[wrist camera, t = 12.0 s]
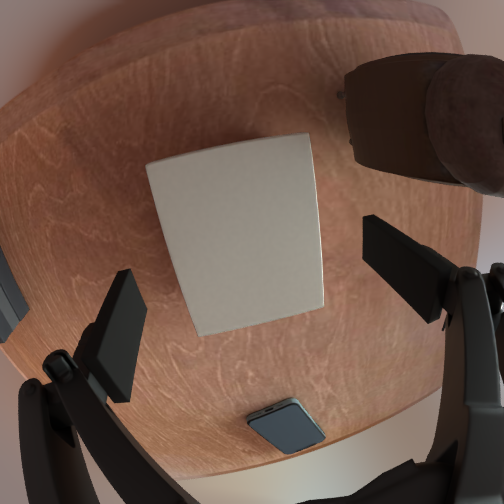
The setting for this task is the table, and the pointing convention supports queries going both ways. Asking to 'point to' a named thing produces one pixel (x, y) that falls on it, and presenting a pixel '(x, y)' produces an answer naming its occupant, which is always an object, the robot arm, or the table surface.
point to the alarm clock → (430, 118)
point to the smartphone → (286, 426)
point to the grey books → (9, 301)
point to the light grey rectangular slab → (242, 230)
